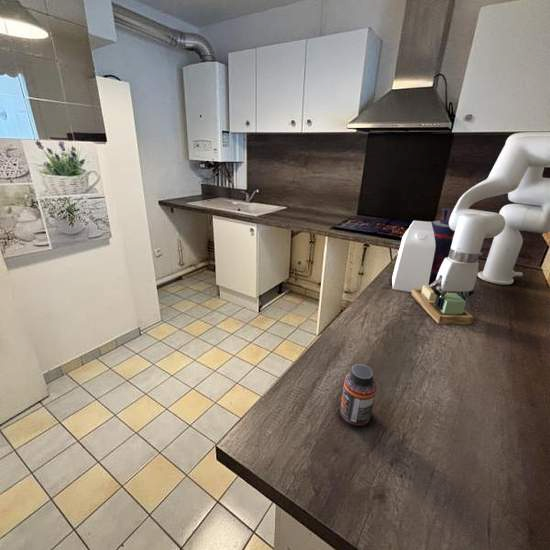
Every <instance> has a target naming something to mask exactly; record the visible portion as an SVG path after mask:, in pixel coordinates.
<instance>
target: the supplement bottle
mask: <svg viewBox="0 0 550 550" xmlns="http://www.w3.org/2000/svg"><path fill="white" fill-rule="evenodd" d="M374 374H375V373H374V370H373V369H372V367H370V366H369V365H366V364H363V363H356V364H354V365H352V367H351V369H350V372H348V373H347V374H346V375H345V377H344V380H343V381H344V382H343V388H342V395H341V400H340V409H339V410H340V415H341V417H342V418H343V420H344V421H345V422H346V423H348V424H350V425H352V426H355V427H361V426H365V425H366V424H368V423H369V422H370V420H371V417H372V411H373V408H374V403H375V399H376V393H377V382H376V379H375V378H374Z"/></svg>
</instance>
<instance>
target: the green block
mask: <svg viewBox="0 0 550 550" xmlns="http://www.w3.org/2000/svg"><path fill="white" fill-rule="evenodd" d="M459 295H460V294H457V293H455V292H448V293H446V295H445V296H444V297H443V299H444V303H443V307H442V310H440V311H441V312H442V313H443V314H463V311H464V309H465V308H466V305H467V304H466V303H467V300H466V301H465V300H464V299H462V298H461V297H460V296H459ZM434 305H435V304H434Z"/></svg>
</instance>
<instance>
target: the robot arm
mask: <svg viewBox="0 0 550 550" xmlns="http://www.w3.org/2000/svg"><path fill="white" fill-rule="evenodd" d="M545 168H550V131H526V132H525V131H524V132H523V131H522V132H515V133H513V134H511V135H509V136H508V137H507V138H506V139H505V144H504V146H503V147H502V149H501V151H500V153H499V155H498V157H497V159H496V160H495V163H494V165H493V167H492V169H491V171H490V172H489V174H488V177H487V178H486V179H484V180H482V181H480V182H479V183H476V184H475V185H474V186H472V187H470V188H469V189H468V190H466V191H465V192H464V193H463V194H462V195H461V196H460V197H459V199H458V200H457V202H456V204H455V206H454V207H453V208H454V210H453V212H452V214H451V216H450V219H449V227H450V229H452V230H453V231H455V233H454V237H453V241H452V245H451V248H450V252H449V256H448V257H446V258H445V259H444V261H443V263H442V265H441V267H440V269H439V272H438V275H437V278H436V281H434V282H433V283H432V282H431V283H430V284H428V285H429V287H430V288H431V289H432V291H433V292H434V293H435V294H436V295H437V297H436V300H435V306H436V307H437V308H438V309H439V310H442V307H443V303H444V299H443V297H444V296H445V295H446V293H447V292H448V293H449V292H459V294H458V295H459V296H460V297H461V298H462V299H464V300H465V301H466V302H467V300H469V298H470V297H471V296H472V295H474V294H475V293H476V292H477V291H479V290H480V289H481V287H480V286H479V285H478V283H477V279H478V278H479V279H481V280H483V281H485V282H489V283H492V284H496V285H506V286H508V285H512V284H514V281H515V280H514V278H515V277H518V278H520V277H523V275H524V274H523V272H522V271H515V270H514V268H515V265H516V262H517V260H518V257H519V254H520V252H521V249H522V246H523V242H524V239H523V235H522V234H521V231H523V232H524V231H525V232H531V233H535V234H547V233H550V177H544V176H543V173H544V170H545ZM505 194H507V199H508V201H510V202H512V203H509V204H506V205H503V206H502V207H501V208H500V210H499V212H493V211H486V210H480V209H474V208H470V207H471V206H473V205H474V204H475V203H477V202H480V201H481V200H485V199H489V198H493V197H497V196H501V195H505ZM485 239H492V242H491V245H490V248H489V251H488V255H487V257H486V261H485V264H484V267H483V270H481V271H479V261H478V260H479V258H481V257H483V252H481V250H482V247H483V243H484V241H485ZM437 286H440V287H439V289H438V290H437V289H436V287H437ZM441 292H442V293H441Z"/></svg>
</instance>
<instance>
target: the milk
mask: <svg viewBox="0 0 550 550" xmlns="http://www.w3.org/2000/svg"><path fill="white" fill-rule="evenodd" d="M431 222H432V221H425V220H424V221H423V220H413V221H412V222H411V224H410V225H409V227H408V228H407V229H406V230H405V232H404V233H403V235H402V237H401V242H400V244H399V249H398V253H397V257H396V261H395V265H394V269H393V272H392V277H391V283H392V290H395V291H400V292H401V291H402V292H409V293H412V289H422V287H423V285H430V284H429V283H430V282H429V279H430V274H431V269H432V263H433V258H434V253H435V247H436V245H435V237H434V231H433V227H432V223H431Z"/></svg>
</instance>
